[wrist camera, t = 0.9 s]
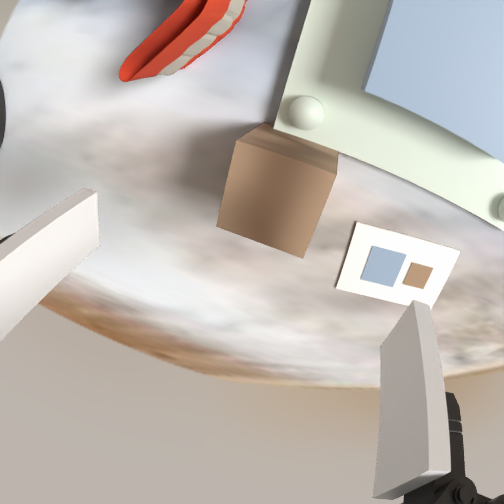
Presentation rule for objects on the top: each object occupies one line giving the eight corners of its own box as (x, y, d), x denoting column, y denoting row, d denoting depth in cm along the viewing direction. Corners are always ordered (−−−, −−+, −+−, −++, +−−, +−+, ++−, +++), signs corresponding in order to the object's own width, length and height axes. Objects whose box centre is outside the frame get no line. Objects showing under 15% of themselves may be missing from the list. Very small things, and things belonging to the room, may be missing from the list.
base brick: (360, 88, 19) (364, 91, 16) (402, -49, 12) (412, -69, 9) (499, 159, 18) (522, 176, 15) (540, 32, 11) (567, 31, 8)
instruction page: (336, 287, 29) (335, 289, 29) (356, 221, 26) (356, 223, 25) (429, 309, 28) (430, 311, 28) (459, 250, 24) (460, 252, 24)
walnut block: (246, 189, 27) (216, 226, 21) (264, 122, 23) (236, 140, 18) (313, 213, 26) (302, 258, 21) (338, 147, 23) (336, 174, 17)
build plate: (276, 126, 23) (270, 130, 21) (346, -105, 11) (346, -117, 9) (507, 229, 21) (516, 242, 20) (578, 25, 9) (592, 25, 7)
